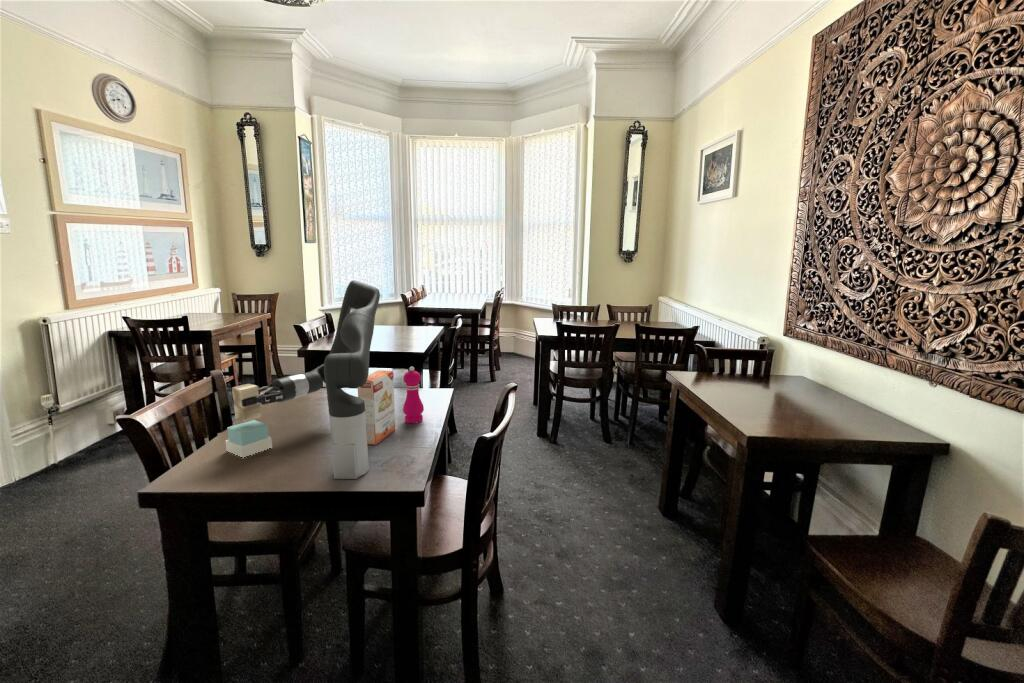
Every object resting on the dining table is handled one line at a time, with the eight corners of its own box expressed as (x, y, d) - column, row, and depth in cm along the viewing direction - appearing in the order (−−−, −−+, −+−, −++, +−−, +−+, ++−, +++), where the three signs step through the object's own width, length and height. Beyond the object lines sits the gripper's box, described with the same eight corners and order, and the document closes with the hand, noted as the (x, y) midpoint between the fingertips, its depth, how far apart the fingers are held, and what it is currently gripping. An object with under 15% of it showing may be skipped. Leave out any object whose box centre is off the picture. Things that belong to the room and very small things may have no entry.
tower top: (268, 437, 144) (267, 424, 143) (242, 445, 137) (240, 433, 137) (255, 431, 148) (253, 419, 148) (228, 440, 142) (227, 427, 141)
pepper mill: (399, 420, 168) (397, 366, 164) (416, 415, 173) (414, 363, 169) (410, 425, 163) (408, 370, 159) (428, 420, 168) (426, 366, 164)
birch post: (261, 417, 143) (257, 385, 141) (244, 422, 139) (240, 390, 137) (252, 414, 145) (248, 383, 143) (235, 419, 141) (231, 387, 139)
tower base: (272, 449, 145) (271, 436, 144) (243, 459, 137) (241, 447, 137) (256, 442, 150) (254, 431, 149) (226, 453, 142) (225, 440, 141)
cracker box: (377, 446, 146) (373, 381, 142) (359, 444, 147) (355, 380, 144) (397, 429, 160) (394, 370, 156) (380, 428, 161) (377, 369, 157)
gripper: (275, 373, 156) (222, 386, 141) (302, 379, 148) (249, 393, 134) (278, 395, 157) (225, 409, 143) (304, 402, 150) (252, 418, 136)
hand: (237, 401), depth 139 cm, fingers closed on birch post, 5 cm apart
